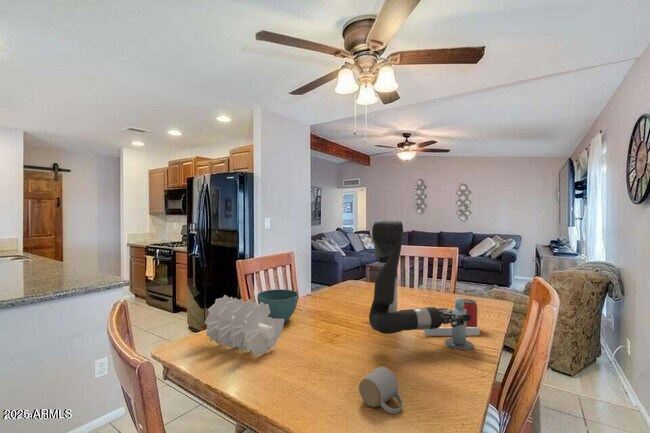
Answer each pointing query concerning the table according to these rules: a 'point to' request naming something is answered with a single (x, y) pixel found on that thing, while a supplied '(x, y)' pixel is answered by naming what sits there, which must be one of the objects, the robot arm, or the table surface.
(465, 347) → the coaster
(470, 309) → the beer can
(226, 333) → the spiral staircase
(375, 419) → the table surface
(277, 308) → the dark green bowl
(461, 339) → the grey bottle
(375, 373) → the ceramic mug
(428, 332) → the wall
